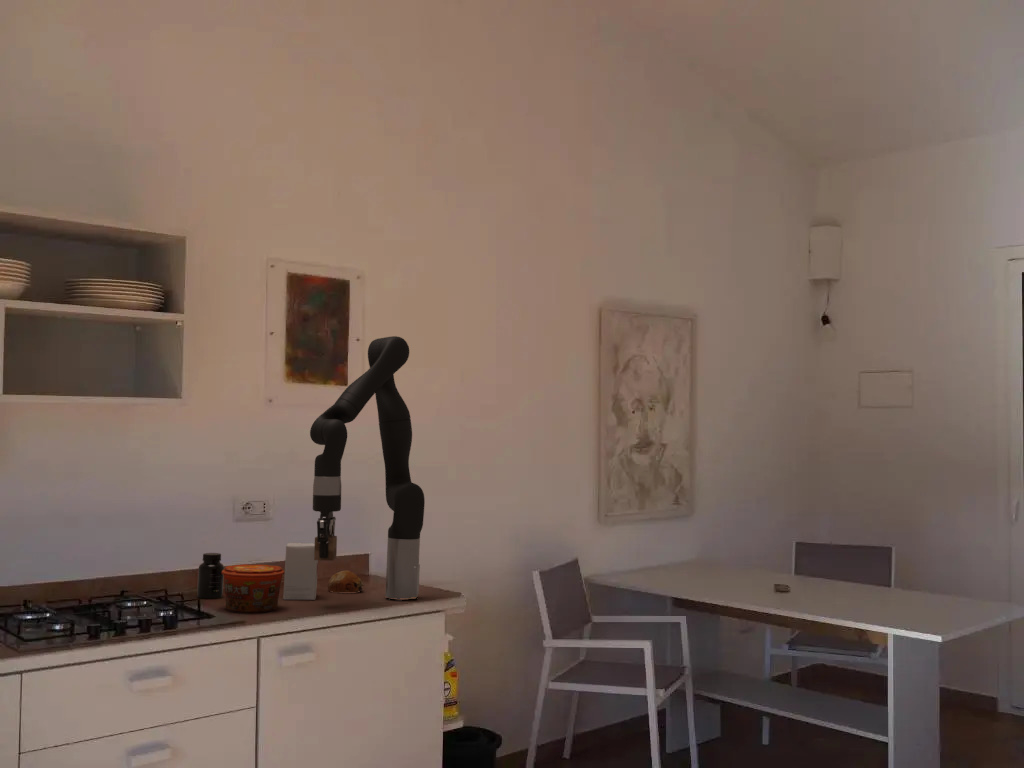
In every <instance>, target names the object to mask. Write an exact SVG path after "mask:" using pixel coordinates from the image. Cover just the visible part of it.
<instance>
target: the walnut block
mask: <svg viewBox="0 0 1024 768" xmlns="http://www.w3.org/2000/svg"><path fill="white" fill-rule="evenodd" d="M322 538H325V536H322ZM317 539H318V538H317V536H314V543H315V551H314V560H318V561H326V562H327V561H334V560H337V548H338V546H337V545H338V544H337V543H338V542H337V541H338V536H337V535H335V536H329V543H328V557H327V558H320V557H319V550H320V544H319V542H318V541H317Z"/></svg>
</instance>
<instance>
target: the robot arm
mask: <svg viewBox="0 0 1024 768" xmlns="http://www.w3.org/2000/svg"><path fill="white" fill-rule="evenodd" d="M409 357H410V348H409V344H408V342H407V341H406V340H405V338H403V337H401V336H397V335H395V336H385V337H381V338H375V339H373V340H372V341H371V342H370V343H369V344H368V348H367V361H368V365H369V369H367V371H365V372H364V373H362V375H360V376H359V377H358V378H356V379H355V380H353V381H352V382H351V383H350V384H349V385H348V386H347V387H346V388H345V389H344V391H343V392H342V393H341V394H340V395H339V397H338V398H337V400H336V401H335V402H334V404H333V405H331V406H330V407H329V408H327V409H326V410H325V411H323V413H321V414H320V415H319V416H318V417H317V418H316V419H315V420H314V422H312V424H311V427H310V431H309V436H310V439H311V441H312V442H313V443H314V444H317V445H319V446H324V447H323V452H322V453H321V454H318V455H316V457H315V459H314V473H313V474H314V475H313V484H312V485H313V486H312V511H314V512H318V513H319V512H320V514H319V518H317V521H316V527H317V528H316V531H317V535H316V537H317V538H318V539H317V541H318V542H319V544H320V550H319V557H320V558H327V557H328V543H329V536H336V535H335V531H336V530H335V529H336V521H337V518H336V516H334V512H339V511H341V509H342V472H341V471H342V459H343V455H344V453H345V449H346V446H347V445H346V444H347V442H348V441H347V440H348V430H347V426H346V424H348V423H351V422H354V420H355V419H356V418H357V417H358V415H359V414H360V412H362V410H363V409H364V407H365V406H366V405H367V404H368V402H369V401H370V400H371V399H372V397H374V395H375V401H376V408H377V417H378V427H379V434H380V436H379V437H380V441H381V448H382V449H381V450H382V456H383V462H384V472H385V473H384V475H385V500H386V503H387V506H388V508H389V509H390V510H391V511H393V515H392V516H393V517H392V523H391V525H390V526H389V528H388V529H387V548H386V549H387V550H386V568H385V569H386V570H385V572H386V576H385V590H384V591H385V594H384V595H385V596H386V597H388V598H397V599H400V598H411V597H417V596H418V594H420V593H419V592H420V590H419V589H420V572H421V571H420V570H421V569H420V568H421V564H420V545H421V531H422V529H423V526H424V518H425V516H424V515H425V494H424V490H423V489H422V488H421V486H419V484H416V483H414V482H412V479H411V478H412V477H411V474H410V466H409V465H410V455H411V448H412V442H413V428H412V420H411V413H410V410H409V408H408V406H407V404H406V402H405V401H404V399H403V397H402V395H401V394H400V392H399V390H398V389H397V386H396V381H395V375H394V374H395V373H397V372H398V371H399V370H400V369H401V368H402V367H403V366H404V365H405V364H406V363H407V361H408V359H409ZM322 536H325V538H322ZM385 596H384V597H385Z"/></svg>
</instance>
